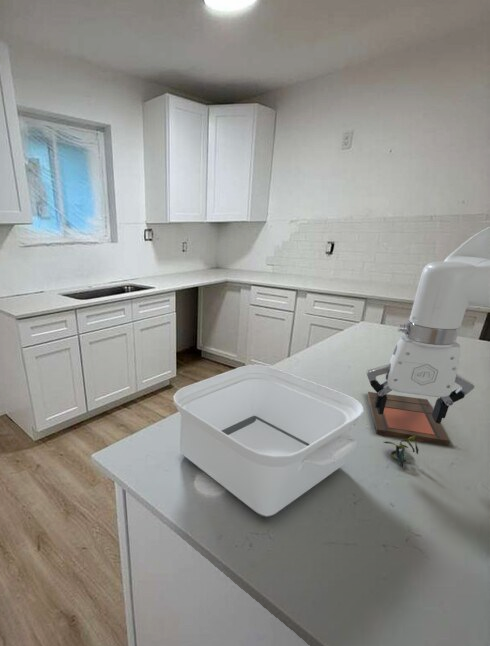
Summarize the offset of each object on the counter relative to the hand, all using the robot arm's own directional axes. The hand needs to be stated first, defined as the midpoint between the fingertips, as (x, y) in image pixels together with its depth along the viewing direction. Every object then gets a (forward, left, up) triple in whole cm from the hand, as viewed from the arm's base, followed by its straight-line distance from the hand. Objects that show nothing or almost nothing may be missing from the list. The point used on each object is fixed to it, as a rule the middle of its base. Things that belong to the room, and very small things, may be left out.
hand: (406, 415), depth 72 cm
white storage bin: (+27, +11, -10) cm, 31 cm away
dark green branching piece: (0, 0, -10) cm, 10 cm away
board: (-4, -18, -10) cm, 21 cm away
